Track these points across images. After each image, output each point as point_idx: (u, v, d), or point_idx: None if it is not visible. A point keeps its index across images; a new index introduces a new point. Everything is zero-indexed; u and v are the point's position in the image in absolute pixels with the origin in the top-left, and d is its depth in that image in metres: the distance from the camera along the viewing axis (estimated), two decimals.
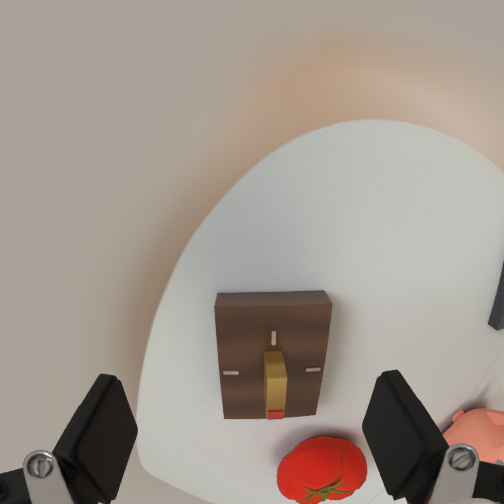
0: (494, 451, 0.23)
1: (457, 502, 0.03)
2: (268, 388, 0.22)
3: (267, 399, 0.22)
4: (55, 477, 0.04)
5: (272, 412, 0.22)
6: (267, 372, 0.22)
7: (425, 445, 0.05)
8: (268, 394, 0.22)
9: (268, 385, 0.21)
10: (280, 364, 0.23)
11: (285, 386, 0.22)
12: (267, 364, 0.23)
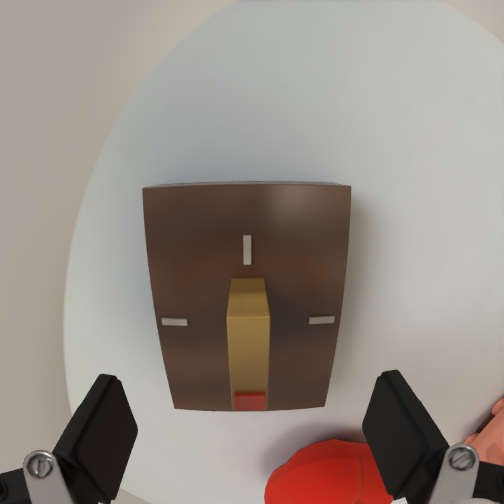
0: None
1: (457, 502, 0.03)
2: (230, 341, 0.11)
3: (231, 367, 0.11)
4: (55, 476, 0.04)
5: (243, 396, 0.11)
6: (229, 307, 0.11)
7: (425, 445, 0.05)
8: (232, 355, 0.11)
9: (230, 333, 0.11)
10: (257, 295, 0.12)
11: (266, 337, 0.11)
12: (232, 295, 0.12)
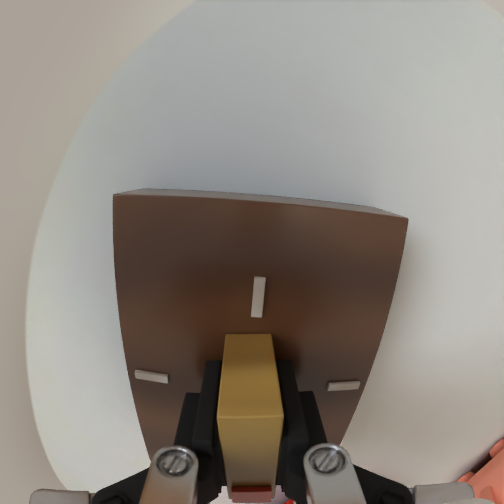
0: None
1: (457, 502, 0.03)
2: (224, 442, 0.06)
3: (225, 465, 0.07)
4: (187, 480, 0.05)
5: (242, 491, 0.07)
6: (221, 394, 0.07)
7: (291, 437, 0.07)
8: (226, 455, 0.07)
9: (223, 434, 0.06)
10: (263, 370, 0.08)
11: (277, 438, 0.06)
12: (226, 369, 0.08)
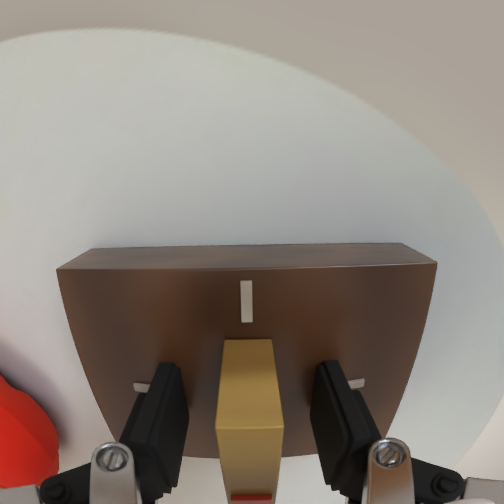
0: None
1: (457, 502, 0.03)
2: (222, 452, 0.06)
3: (224, 474, 0.06)
4: (126, 473, 0.05)
5: (242, 499, 0.07)
6: (219, 403, 0.07)
7: (351, 435, 0.06)
8: (225, 465, 0.06)
9: (221, 445, 0.06)
10: (263, 379, 0.07)
11: (277, 448, 0.06)
12: (224, 377, 0.08)
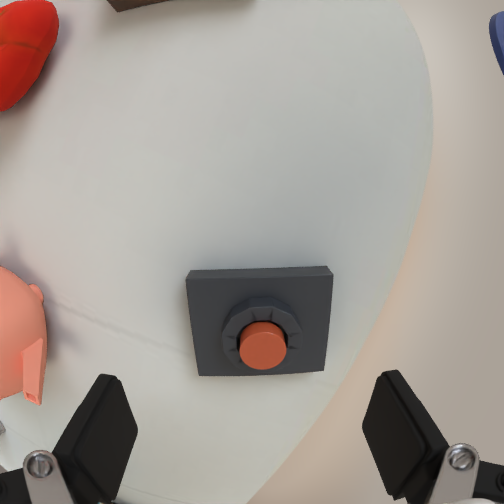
0: None
1: (457, 502, 0.03)
2: None
3: None
4: (55, 477, 0.04)
5: None
6: None
7: (425, 445, 0.05)
8: None
9: None
10: None
11: None
12: None
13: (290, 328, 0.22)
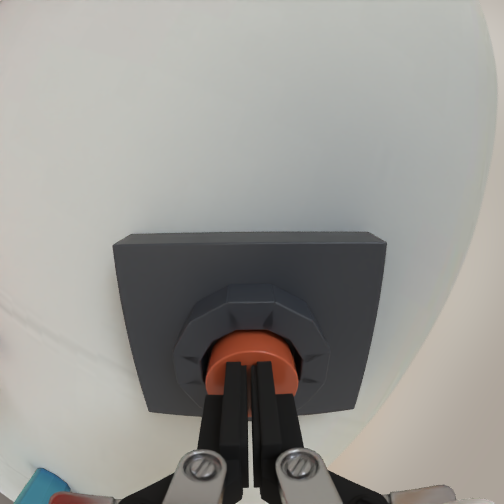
0: None
1: (457, 502, 0.03)
2: None
3: None
4: (213, 485, 0.05)
5: None
6: None
7: (264, 440, 0.07)
8: None
9: None
10: None
11: None
12: None
13: (308, 346, 0.11)
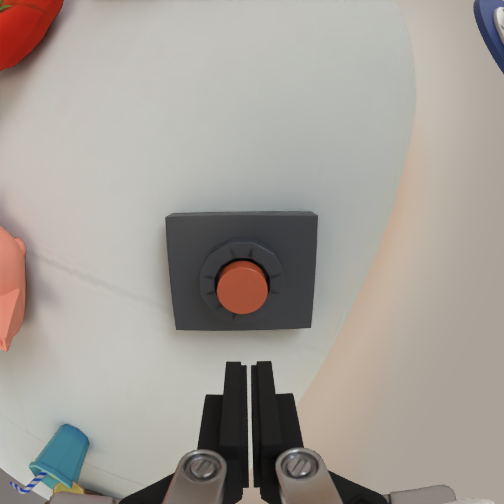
0: None
1: (457, 502, 0.03)
2: None
3: None
4: (213, 486, 0.05)
5: None
6: None
7: (264, 440, 0.07)
8: None
9: None
10: None
11: None
12: None
13: (272, 268, 0.22)
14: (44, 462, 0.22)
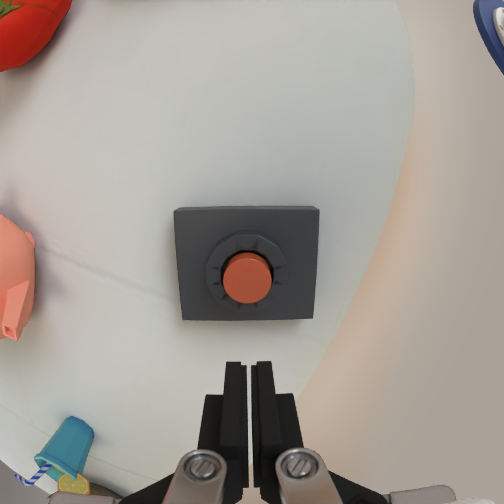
0: None
1: (457, 502, 0.03)
2: None
3: None
4: (213, 486, 0.05)
5: None
6: None
7: (264, 440, 0.07)
8: None
9: None
10: None
11: None
12: None
13: (276, 260, 0.23)
14: (50, 453, 0.24)
